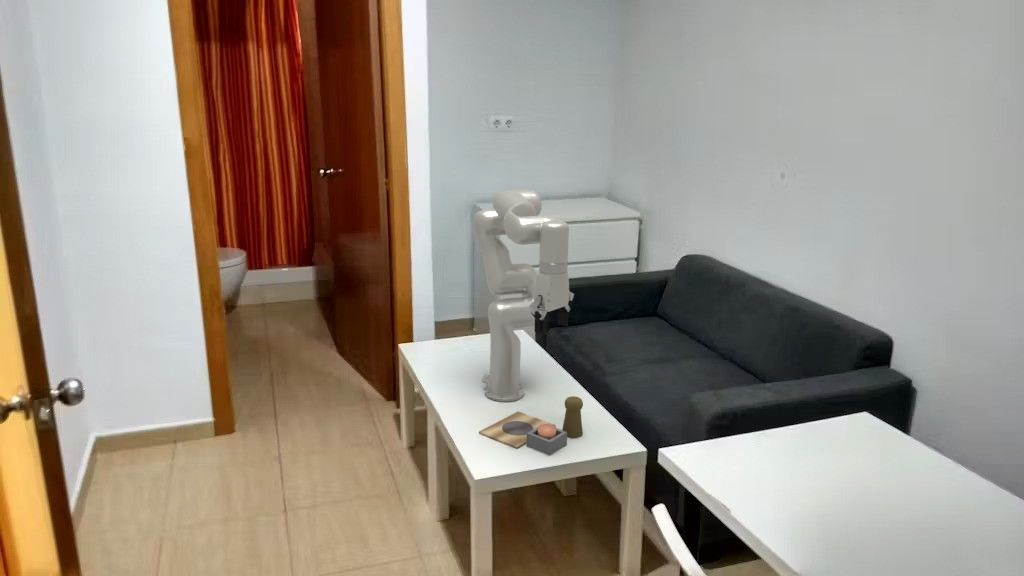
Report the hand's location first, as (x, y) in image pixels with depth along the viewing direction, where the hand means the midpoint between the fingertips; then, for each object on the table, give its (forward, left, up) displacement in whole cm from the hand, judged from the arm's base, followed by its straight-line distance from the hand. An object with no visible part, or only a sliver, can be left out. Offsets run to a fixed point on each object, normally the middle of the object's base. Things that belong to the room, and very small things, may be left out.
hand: (551, 328), depth 212 cm
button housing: (+2, -3, -33) cm, 33 cm away
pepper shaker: (+3, +8, -33) cm, 34 cm away
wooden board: (-10, -1, -33) cm, 35 cm away
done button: (+2, -3, -31) cm, 31 cm away
